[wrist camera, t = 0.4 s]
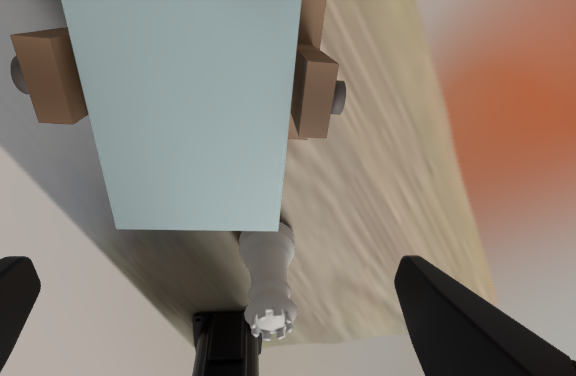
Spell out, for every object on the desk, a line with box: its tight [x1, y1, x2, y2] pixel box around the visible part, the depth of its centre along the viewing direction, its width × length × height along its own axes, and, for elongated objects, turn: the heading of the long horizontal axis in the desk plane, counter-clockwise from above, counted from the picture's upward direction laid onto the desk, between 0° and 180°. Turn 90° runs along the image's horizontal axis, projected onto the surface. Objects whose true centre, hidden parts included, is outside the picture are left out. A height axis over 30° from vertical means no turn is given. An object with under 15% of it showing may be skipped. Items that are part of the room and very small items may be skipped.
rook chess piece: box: [239, 222, 297, 341], centre depth 21 cm, size 4×4×8 cm
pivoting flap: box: [61, 0, 301, 231], centre depth 13 cm, size 14×8×2 cm, turn 174°
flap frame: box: [10, 0, 346, 140], centre depth 15 cm, size 8×12×7 cm, turn 84°
